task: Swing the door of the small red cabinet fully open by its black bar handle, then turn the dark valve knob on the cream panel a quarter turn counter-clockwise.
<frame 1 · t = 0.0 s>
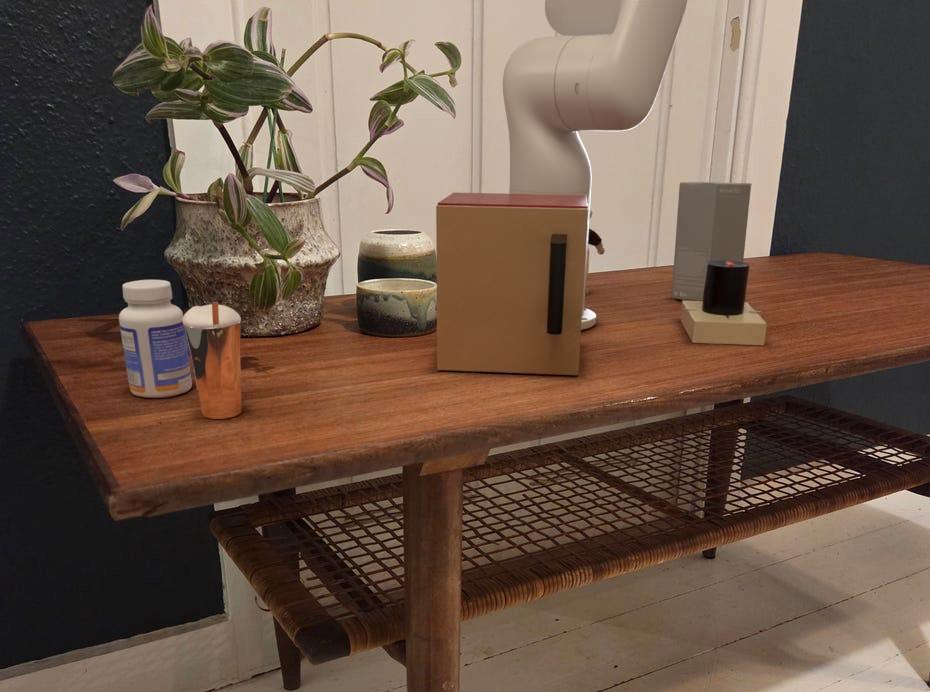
pill bottle: (161, 392, 81), on the table
cosmetic box: (703, 300, 125), on the table
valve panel: (719, 332, 105), on the table
milkshake: (222, 417, 74), on the table
valve knob: (725, 286, 103), point 5 cm above the table, hinge at 0.0°
red cabinet: (511, 356, 93), on the table
grandmother figurine: (576, 293, 128), on the table
door: (507, 298, 81), point 8 cm above the table, hinge at 0.0°
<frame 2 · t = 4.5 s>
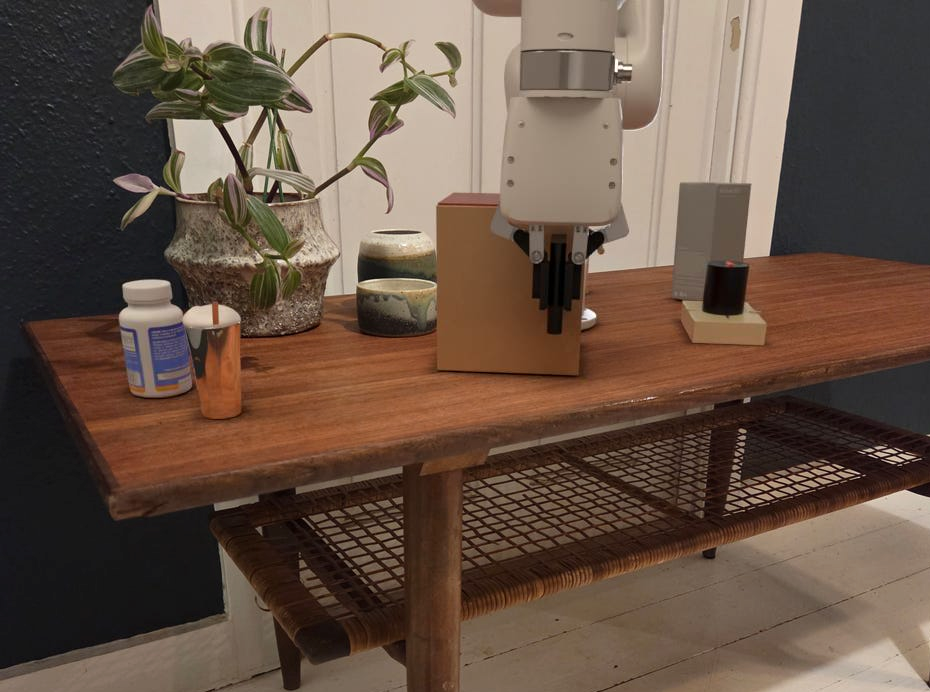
hand: (555, 306, 78), 8 cm above the table, tool pointing down, fingers closed
door: (507, 298, 81), point 8 cm above the table, hinge at 0.0°, touching gripper
everything else where it was.
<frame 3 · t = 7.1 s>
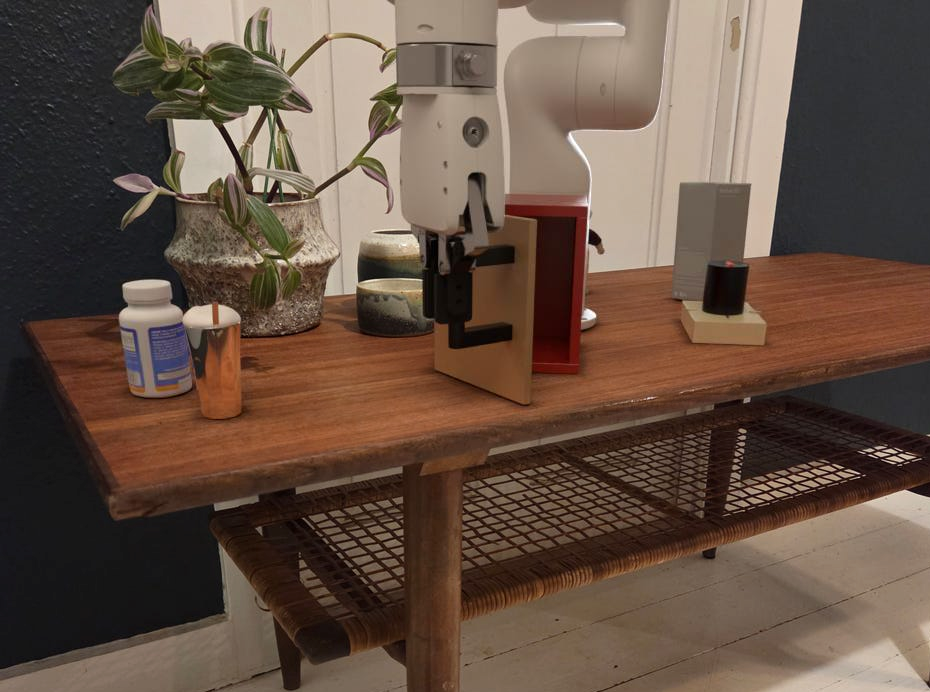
hand: (447, 318, 73), 8 cm above the table, tool pointing down, fingers closed
door: (452, 305, 78), point 8 cm above the table, hinge at 47.6°, touching gripper
everything else where it was.
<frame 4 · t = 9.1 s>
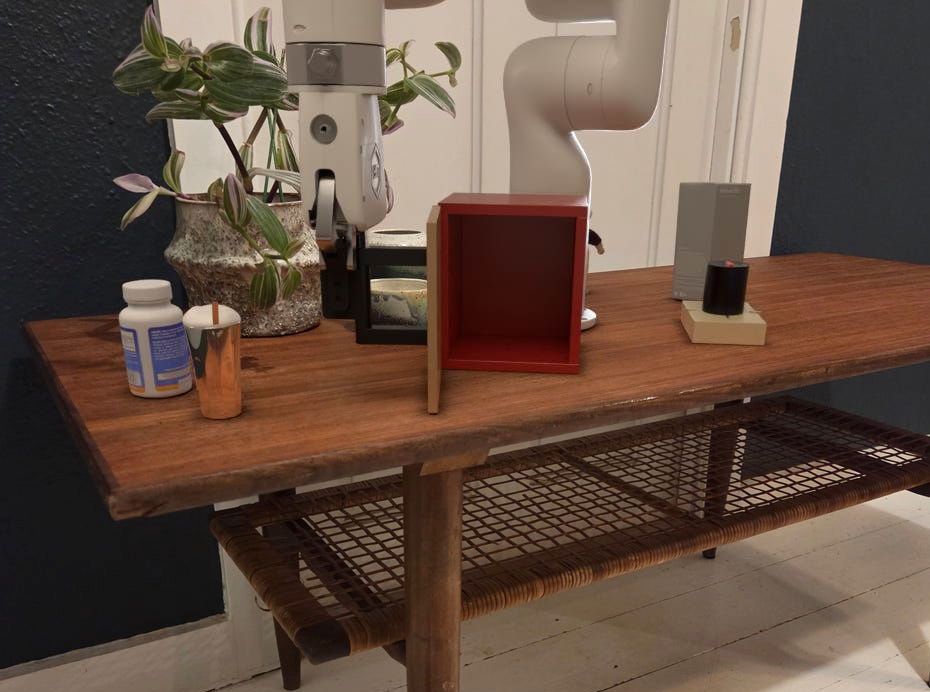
hand: (347, 312, 74), 8 cm above the table, tool pointing down, fingers closed
door: (400, 304, 78), point 8 cm above the table, hinge at 83.6°
everything else where it was.
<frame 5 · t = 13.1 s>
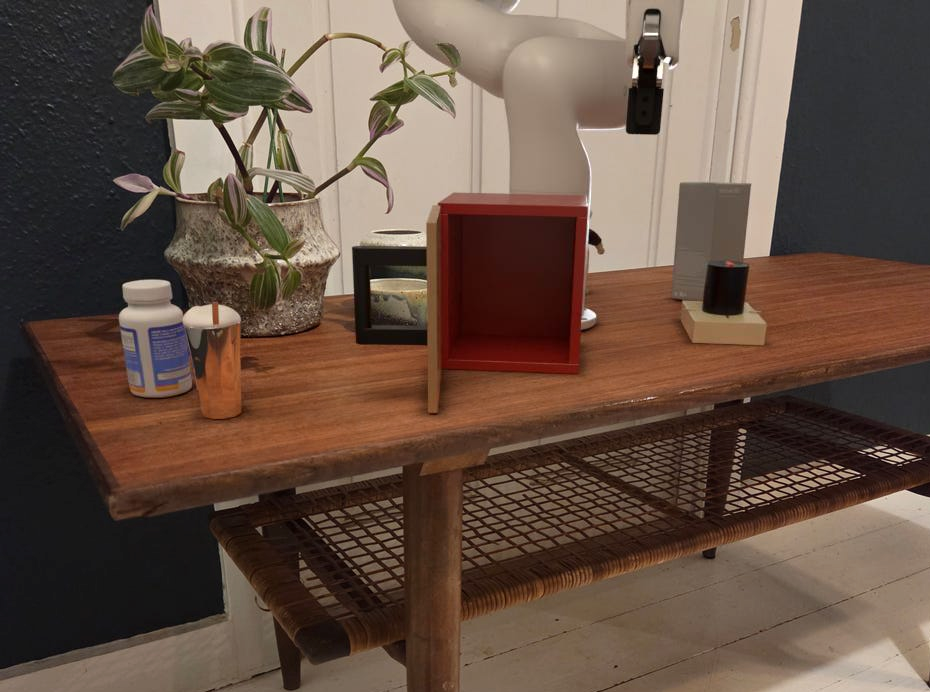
hand: (642, 132, 88), 22 cm above the table, tool pointing down, fingers open, 9 cm apart
nothing on the table moved.
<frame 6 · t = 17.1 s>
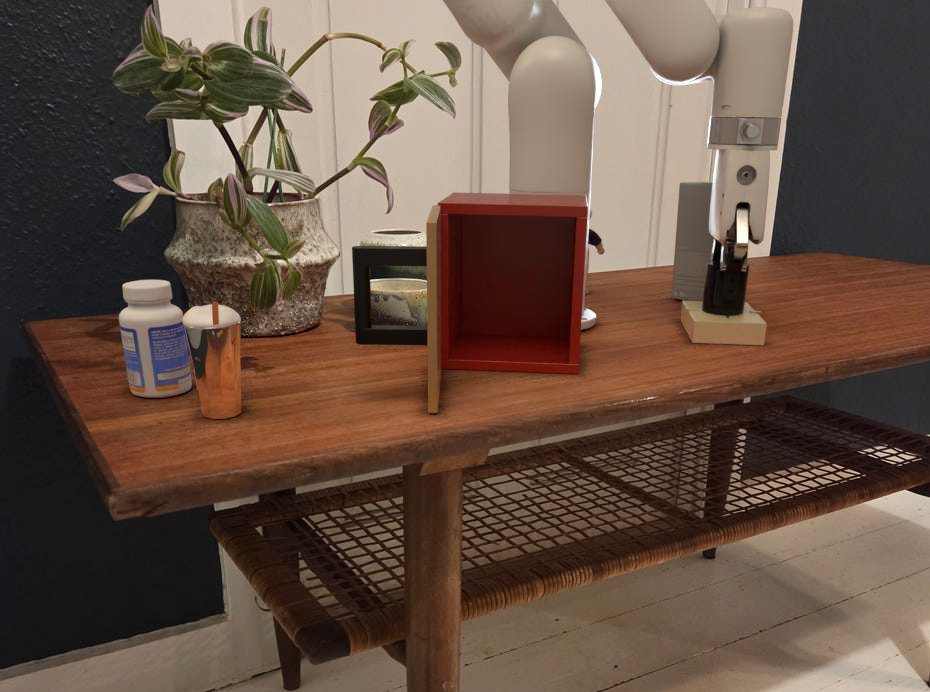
hand: (723, 299, 104), 4 cm above the table, tool pointing down, fingers closed on valve knob, 4 cm apart
valve knob: (725, 286, 103), point 5 cm above the table, hinge at -0.1°, touching gripper
everything else where it was.
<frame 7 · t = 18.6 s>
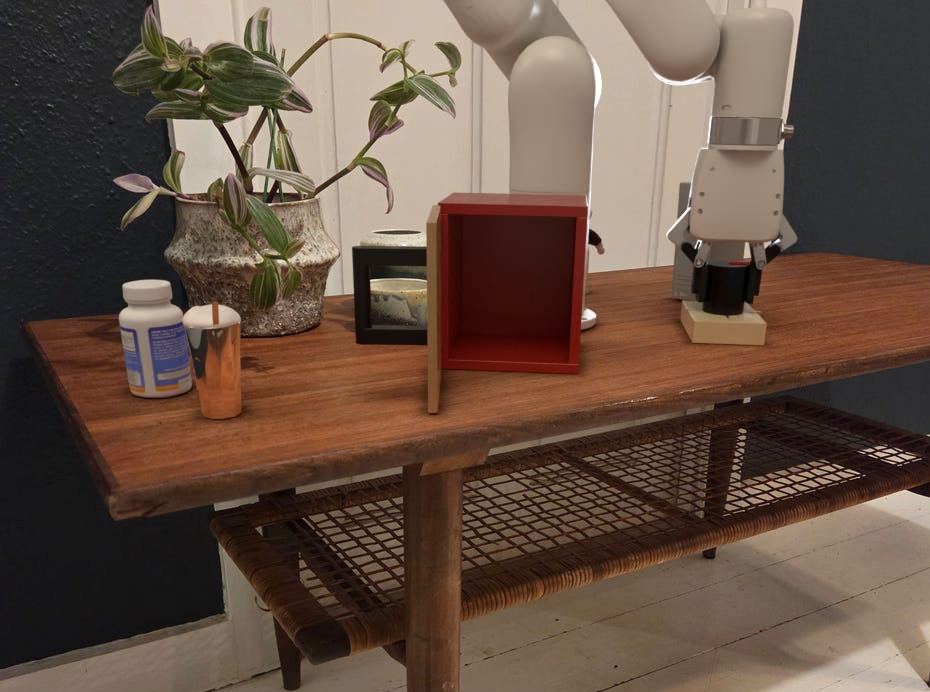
hand: (723, 299, 104), 4 cm above the table, tool pointing down, fingers closed on valve knob, 4 cm apart
valve knob: (725, 286, 103), point 5 cm above the table, hinge at 90.8°, touching gripper
everything else where it was.
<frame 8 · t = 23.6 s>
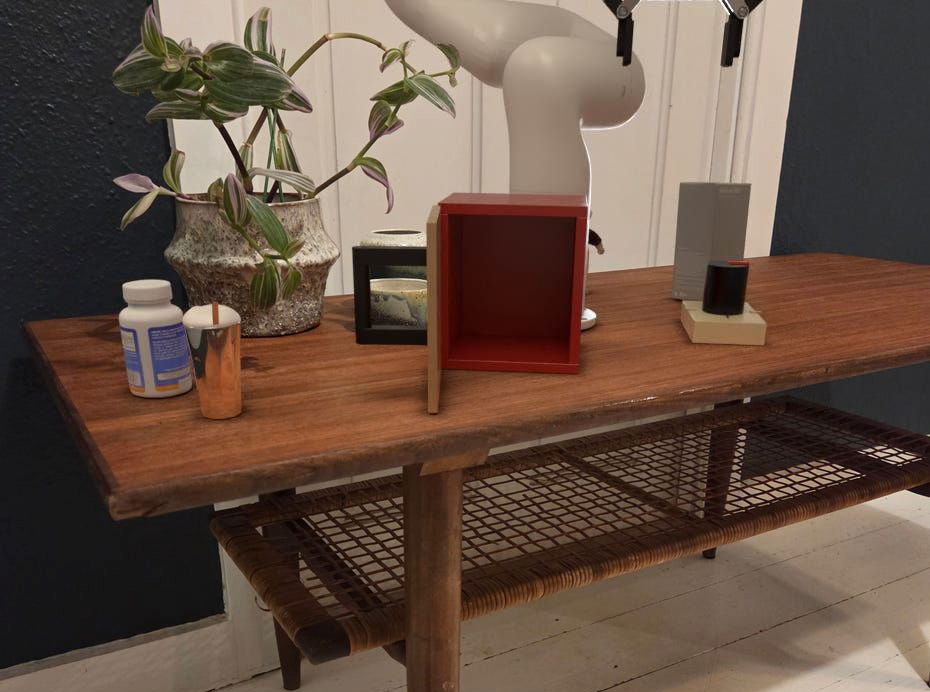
hand: (676, 66, 86), 28 cm above the table, tool pointing down, fingers open, 9 cm apart
valve knob: (725, 286, 103), point 5 cm above the table, hinge at 90.9°
everything else where it was.
at the end: door at +84° (first picture: +0°); valve knob at +91° (first picture: +0°) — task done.
